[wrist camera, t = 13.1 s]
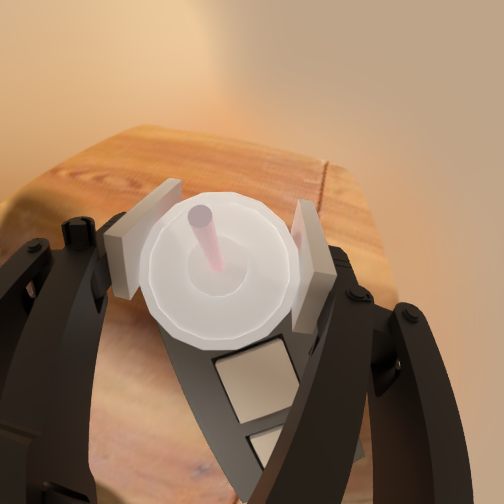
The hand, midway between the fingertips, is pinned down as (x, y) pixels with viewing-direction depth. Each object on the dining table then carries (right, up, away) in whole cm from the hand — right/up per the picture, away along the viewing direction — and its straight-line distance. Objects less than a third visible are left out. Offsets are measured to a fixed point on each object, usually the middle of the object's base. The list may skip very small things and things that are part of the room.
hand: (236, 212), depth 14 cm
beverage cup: (-1, -5, +5) cm, 7 cm away
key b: (+2, -14, +9) cm, 17 cm away
